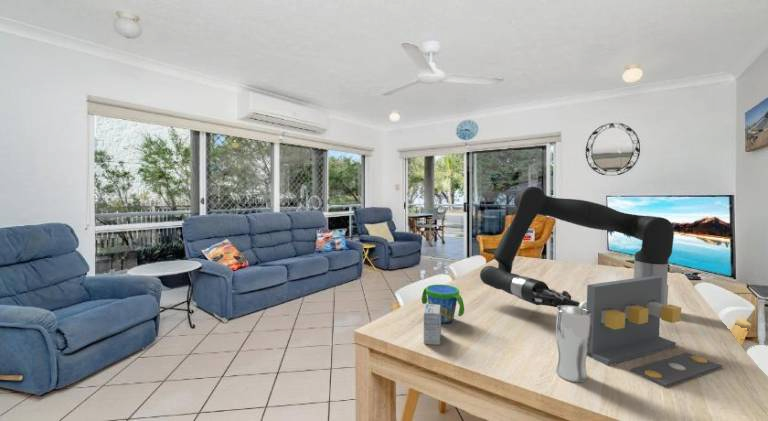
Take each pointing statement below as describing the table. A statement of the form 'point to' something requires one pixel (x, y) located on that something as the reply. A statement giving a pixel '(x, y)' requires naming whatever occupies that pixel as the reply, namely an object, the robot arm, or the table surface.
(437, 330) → the medicine box
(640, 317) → the middle button
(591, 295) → the button panel
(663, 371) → the pattern card
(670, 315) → the button
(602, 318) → the button
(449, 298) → the snack cup
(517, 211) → the robot arm
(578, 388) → the table surface
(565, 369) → the silver metal cup
